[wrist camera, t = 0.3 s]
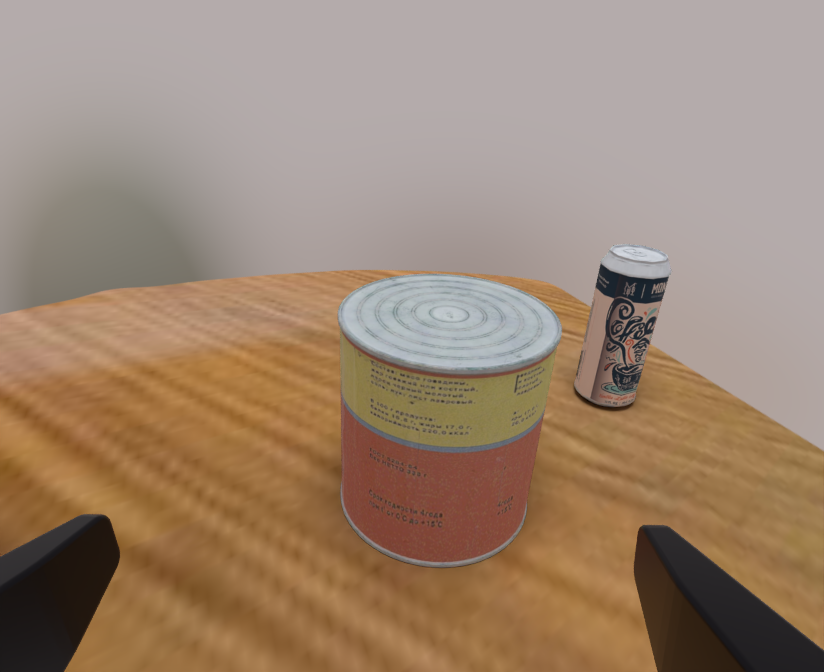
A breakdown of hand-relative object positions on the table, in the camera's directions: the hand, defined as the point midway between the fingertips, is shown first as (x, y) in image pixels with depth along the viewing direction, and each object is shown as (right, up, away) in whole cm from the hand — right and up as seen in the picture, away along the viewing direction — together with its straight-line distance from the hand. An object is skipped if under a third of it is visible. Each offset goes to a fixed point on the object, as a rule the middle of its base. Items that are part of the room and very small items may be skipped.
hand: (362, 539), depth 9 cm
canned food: (+2, -6, +24) cm, 25 cm away
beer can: (+16, -2, +35) cm, 38 cm away
